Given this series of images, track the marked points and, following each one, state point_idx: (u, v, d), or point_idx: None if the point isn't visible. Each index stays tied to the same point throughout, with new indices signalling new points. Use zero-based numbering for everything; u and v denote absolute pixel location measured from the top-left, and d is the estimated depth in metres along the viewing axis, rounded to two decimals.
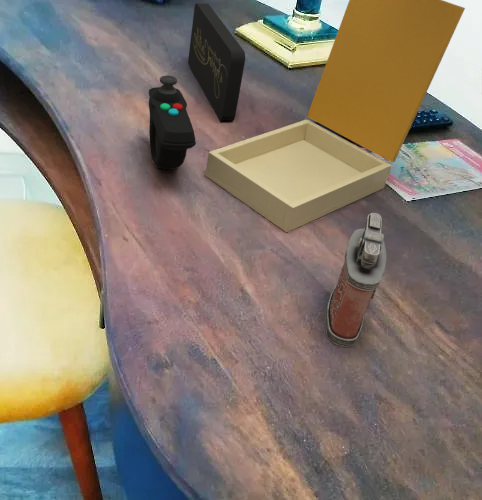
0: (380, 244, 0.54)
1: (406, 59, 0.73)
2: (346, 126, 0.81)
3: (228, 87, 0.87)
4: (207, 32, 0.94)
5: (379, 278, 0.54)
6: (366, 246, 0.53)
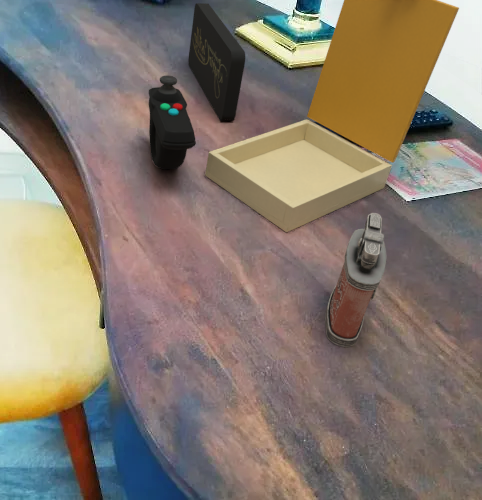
0: (380, 244, 0.54)
1: (402, 59, 0.73)
2: (345, 126, 0.81)
3: (228, 87, 0.87)
4: (207, 32, 0.94)
5: (379, 278, 0.54)
6: (366, 246, 0.53)
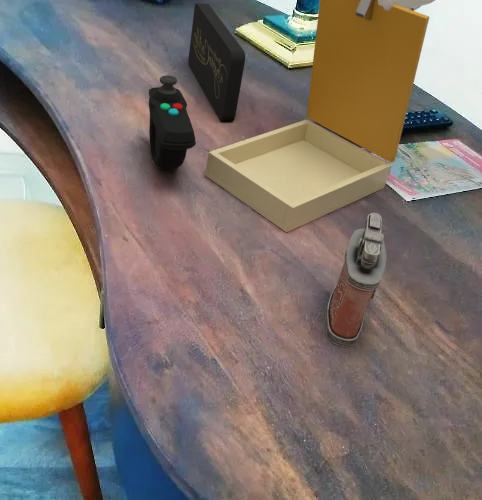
0: (380, 244, 0.54)
1: (384, 67, 0.71)
2: (343, 128, 0.81)
3: (228, 87, 0.87)
4: (207, 32, 0.94)
5: (379, 278, 0.54)
6: (366, 246, 0.53)
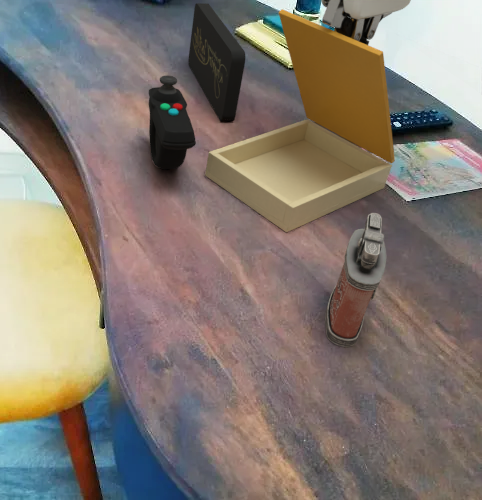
0: (380, 244, 0.54)
1: (357, 88, 0.70)
2: (341, 131, 0.81)
3: (228, 87, 0.87)
4: (207, 32, 0.94)
5: (379, 278, 0.54)
6: (366, 246, 0.53)
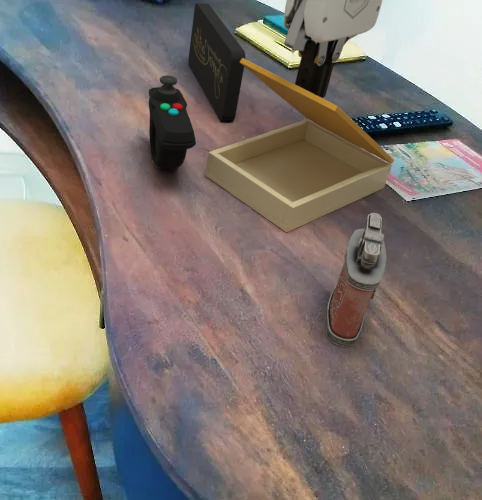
0: (380, 244, 0.54)
1: (332, 120, 0.71)
2: (338, 134, 0.81)
3: (228, 87, 0.87)
4: (207, 32, 0.94)
5: (379, 278, 0.54)
6: (366, 246, 0.53)
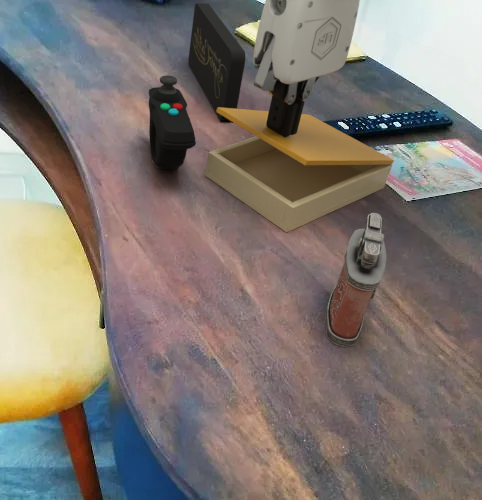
0: (380, 244, 0.54)
1: None
2: None
3: (228, 87, 0.87)
4: (207, 32, 0.94)
5: (379, 278, 0.54)
6: (366, 246, 0.53)
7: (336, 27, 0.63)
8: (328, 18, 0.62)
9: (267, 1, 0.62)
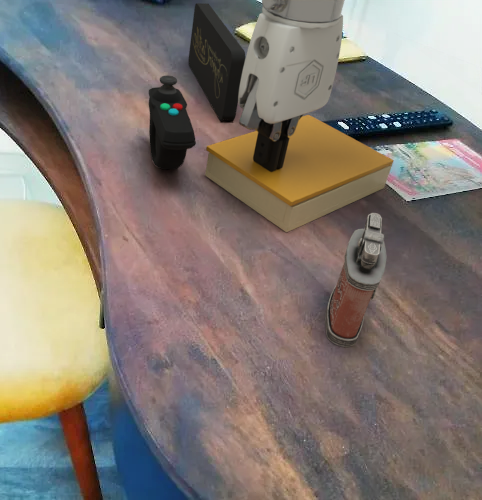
0: (380, 244, 0.54)
1: None
2: None
3: (228, 87, 0.87)
4: (207, 32, 0.94)
5: (379, 278, 0.54)
6: (366, 246, 0.53)
7: (318, 68, 0.65)
8: (310, 61, 0.63)
9: (251, 45, 0.63)
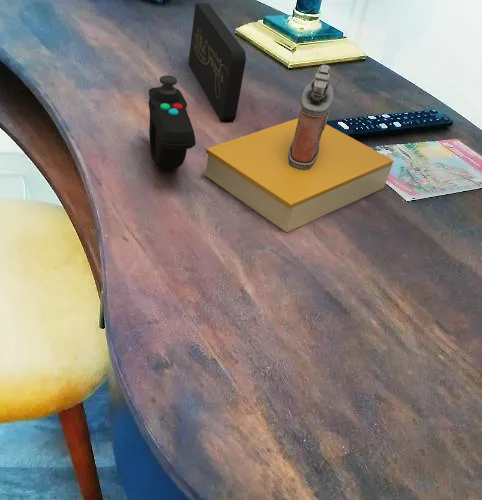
0: (327, 82, 0.70)
1: None
2: None
3: (228, 87, 0.87)
4: (208, 32, 0.94)
5: (326, 108, 0.70)
6: (315, 82, 0.69)
7: None
8: None
9: None
